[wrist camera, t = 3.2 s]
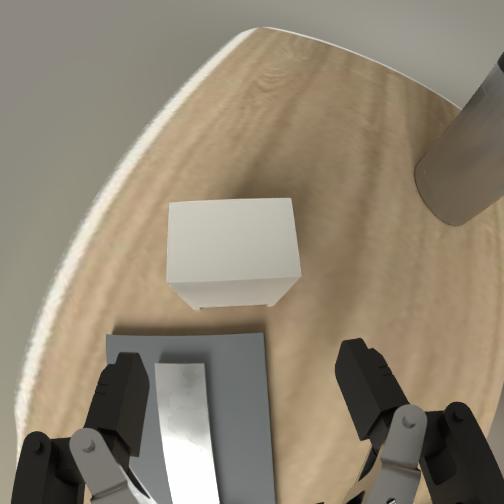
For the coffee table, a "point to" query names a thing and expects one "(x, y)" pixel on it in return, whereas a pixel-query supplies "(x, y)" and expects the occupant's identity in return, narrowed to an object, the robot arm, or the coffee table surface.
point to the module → (232, 251)
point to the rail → (186, 432)
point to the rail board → (211, 412)
